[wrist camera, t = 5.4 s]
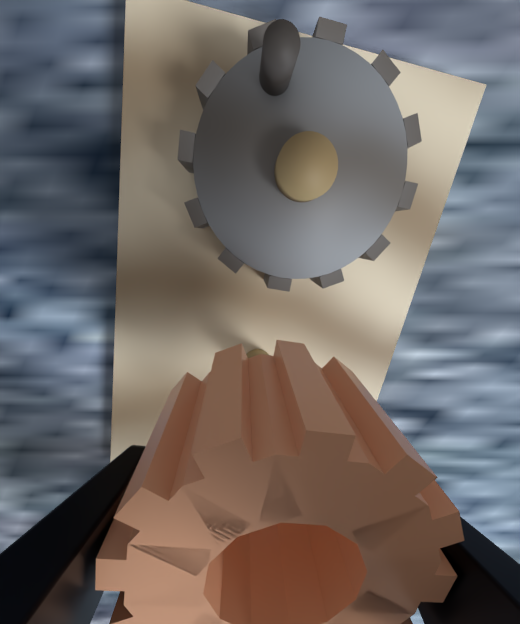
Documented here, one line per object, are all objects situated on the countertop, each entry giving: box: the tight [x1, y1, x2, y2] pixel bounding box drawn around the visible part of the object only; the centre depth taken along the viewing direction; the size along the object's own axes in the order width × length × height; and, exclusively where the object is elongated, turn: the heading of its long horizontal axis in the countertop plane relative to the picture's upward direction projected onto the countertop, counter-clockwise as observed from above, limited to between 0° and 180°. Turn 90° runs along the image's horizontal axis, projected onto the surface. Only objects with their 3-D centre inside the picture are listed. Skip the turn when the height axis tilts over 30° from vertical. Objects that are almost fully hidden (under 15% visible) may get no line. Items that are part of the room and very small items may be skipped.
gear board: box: [110, 0, 486, 462], centre depth 12 cm, size 22×14×5 cm, turn 170°
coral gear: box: [95, 340, 464, 624], centre depth 7 cm, size 7×7×4 cm
